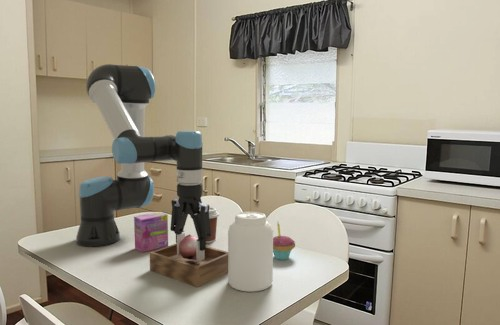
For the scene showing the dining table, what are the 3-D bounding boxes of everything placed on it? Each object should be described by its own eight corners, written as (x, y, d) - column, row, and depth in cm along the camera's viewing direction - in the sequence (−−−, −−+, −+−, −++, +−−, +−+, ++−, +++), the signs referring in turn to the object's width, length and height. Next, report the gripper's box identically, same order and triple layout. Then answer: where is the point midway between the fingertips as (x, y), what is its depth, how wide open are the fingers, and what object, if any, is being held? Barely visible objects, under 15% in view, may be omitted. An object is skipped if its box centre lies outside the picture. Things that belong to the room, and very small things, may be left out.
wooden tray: (149, 270, 123) (149, 252, 122) (185, 256, 135) (185, 240, 134) (197, 287, 111) (197, 267, 111) (231, 270, 123) (231, 252, 122)
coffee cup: (192, 243, 148) (191, 211, 147) (198, 236, 157) (197, 205, 156) (216, 244, 147) (216, 212, 146) (221, 237, 156) (221, 206, 155)
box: (142, 252, 138) (141, 219, 137) (134, 248, 142) (133, 216, 141) (168, 246, 145) (168, 214, 144) (161, 242, 149) (160, 211, 148)
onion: (184, 255, 127) (190, 233, 128) (206, 261, 124) (211, 238, 125) (171, 256, 120) (177, 232, 121) (194, 262, 117) (200, 237, 118)
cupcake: (263, 257, 134) (264, 222, 133) (279, 251, 141) (280, 217, 139) (284, 263, 129) (284, 227, 127) (300, 257, 135) (300, 222, 133)
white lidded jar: (278, 289, 110) (280, 218, 107) (234, 295, 106) (234, 221, 104) (264, 272, 122) (264, 207, 119) (223, 277, 118) (223, 210, 116)
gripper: (157, 181, 123) (158, 253, 126) (206, 188, 111) (207, 268, 114) (175, 178, 129) (176, 247, 132) (224, 185, 117) (224, 261, 120)
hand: (190, 257), depth 123 cm, fingers closed on onion, 7 cm apart
